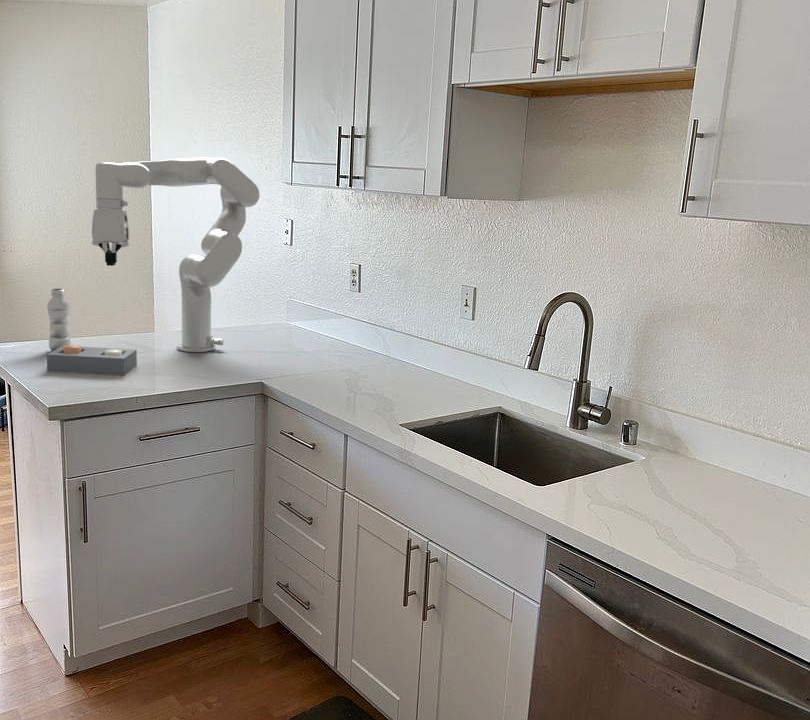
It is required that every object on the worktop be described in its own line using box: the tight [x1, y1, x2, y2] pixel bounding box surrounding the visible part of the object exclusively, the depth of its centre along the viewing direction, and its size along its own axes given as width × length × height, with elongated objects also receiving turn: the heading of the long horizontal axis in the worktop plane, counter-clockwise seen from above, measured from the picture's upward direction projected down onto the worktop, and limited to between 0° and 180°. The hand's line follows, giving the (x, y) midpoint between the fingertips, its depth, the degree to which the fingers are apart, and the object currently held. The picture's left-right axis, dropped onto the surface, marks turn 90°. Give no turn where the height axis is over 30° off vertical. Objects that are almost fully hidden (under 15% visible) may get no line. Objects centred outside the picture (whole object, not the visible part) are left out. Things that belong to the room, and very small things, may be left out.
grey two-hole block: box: [46, 346, 138, 376], centre depth 234 cm, size 22×12×5 cm, turn 92°
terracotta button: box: [63, 344, 82, 354], centre depth 234 cm, size 5×5×5 cm
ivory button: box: [105, 350, 122, 356], centre depth 234 cm, size 5×5×5 cm
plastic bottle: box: [46, 288, 72, 352], centre depth 250 cm, size 6×7×20 cm
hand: (111, 265), depth 243 cm, fingers closed
